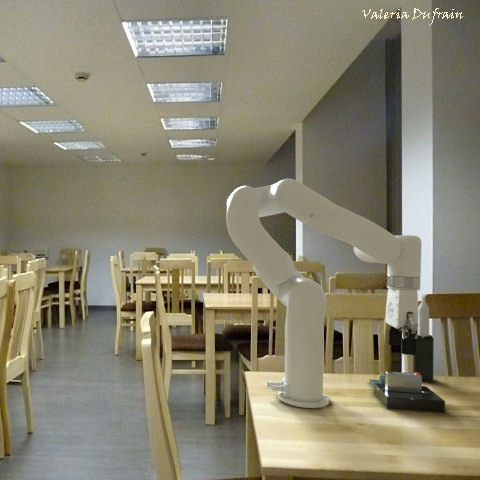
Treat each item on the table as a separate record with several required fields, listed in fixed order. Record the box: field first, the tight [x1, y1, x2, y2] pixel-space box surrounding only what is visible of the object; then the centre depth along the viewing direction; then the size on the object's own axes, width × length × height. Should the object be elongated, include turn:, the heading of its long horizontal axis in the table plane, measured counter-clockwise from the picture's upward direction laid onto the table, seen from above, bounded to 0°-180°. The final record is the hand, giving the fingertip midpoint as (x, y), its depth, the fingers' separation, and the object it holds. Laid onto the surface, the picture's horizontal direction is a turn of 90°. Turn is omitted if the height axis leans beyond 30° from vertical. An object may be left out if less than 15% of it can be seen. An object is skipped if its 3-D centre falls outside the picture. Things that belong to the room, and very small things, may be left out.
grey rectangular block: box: [384, 371, 423, 393], centre depth 113 cm, size 8×2×5 cm, turn 80°
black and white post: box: [412, 296, 435, 384], centre depth 133 cm, size 5×5×25 cm
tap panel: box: [373, 383, 446, 414], centre depth 113 cm, size 14×12×3 cm
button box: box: [369, 374, 385, 388], centre depth 124 cm, size 10×8×3 cm
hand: (401, 349), depth 113 cm, fingers open, 9 cm apart
